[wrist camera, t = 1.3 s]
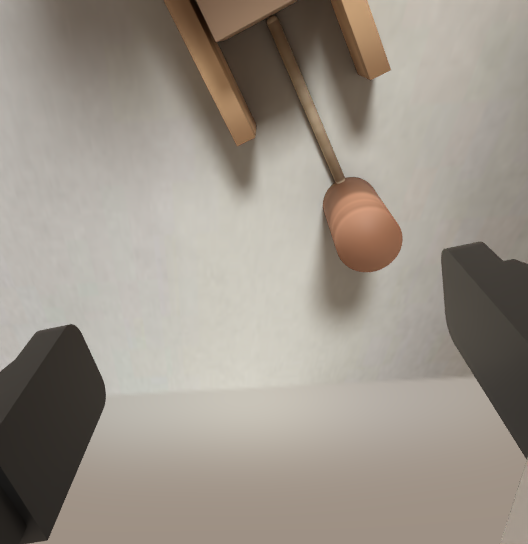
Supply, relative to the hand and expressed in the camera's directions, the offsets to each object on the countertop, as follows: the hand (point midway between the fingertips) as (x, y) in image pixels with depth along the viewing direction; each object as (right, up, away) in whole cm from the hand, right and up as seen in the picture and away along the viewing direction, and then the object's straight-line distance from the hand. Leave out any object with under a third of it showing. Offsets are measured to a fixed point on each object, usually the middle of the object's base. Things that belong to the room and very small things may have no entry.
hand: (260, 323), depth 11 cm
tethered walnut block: (+2, +11, +16) cm, 19 cm away
